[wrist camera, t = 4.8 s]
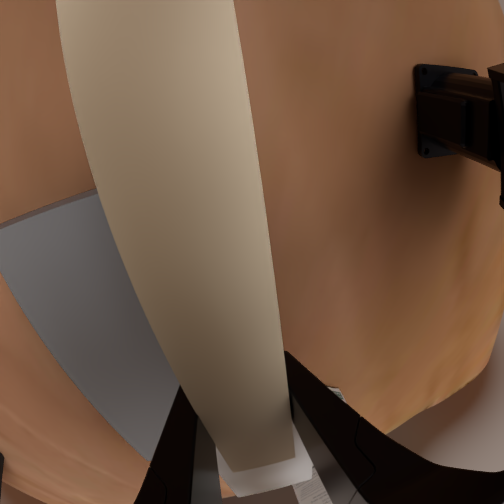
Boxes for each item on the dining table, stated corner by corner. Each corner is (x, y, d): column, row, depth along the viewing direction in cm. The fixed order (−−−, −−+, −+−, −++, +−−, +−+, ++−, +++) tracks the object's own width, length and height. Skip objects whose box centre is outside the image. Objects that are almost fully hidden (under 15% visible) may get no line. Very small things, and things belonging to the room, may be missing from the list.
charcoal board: (169, 166, 16) (169, 172, 15) (251, 431, 31) (253, 440, 30) (-9, 227, 15) (-17, 236, 14) (146, 451, 29) (147, 460, 28)
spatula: (265, -10, 5) (311, -51, 3) (307, 466, 18) (319, 500, 16) (46, 42, 5) (-17, 31, 2) (235, 485, 17) (243, 520, 15)
